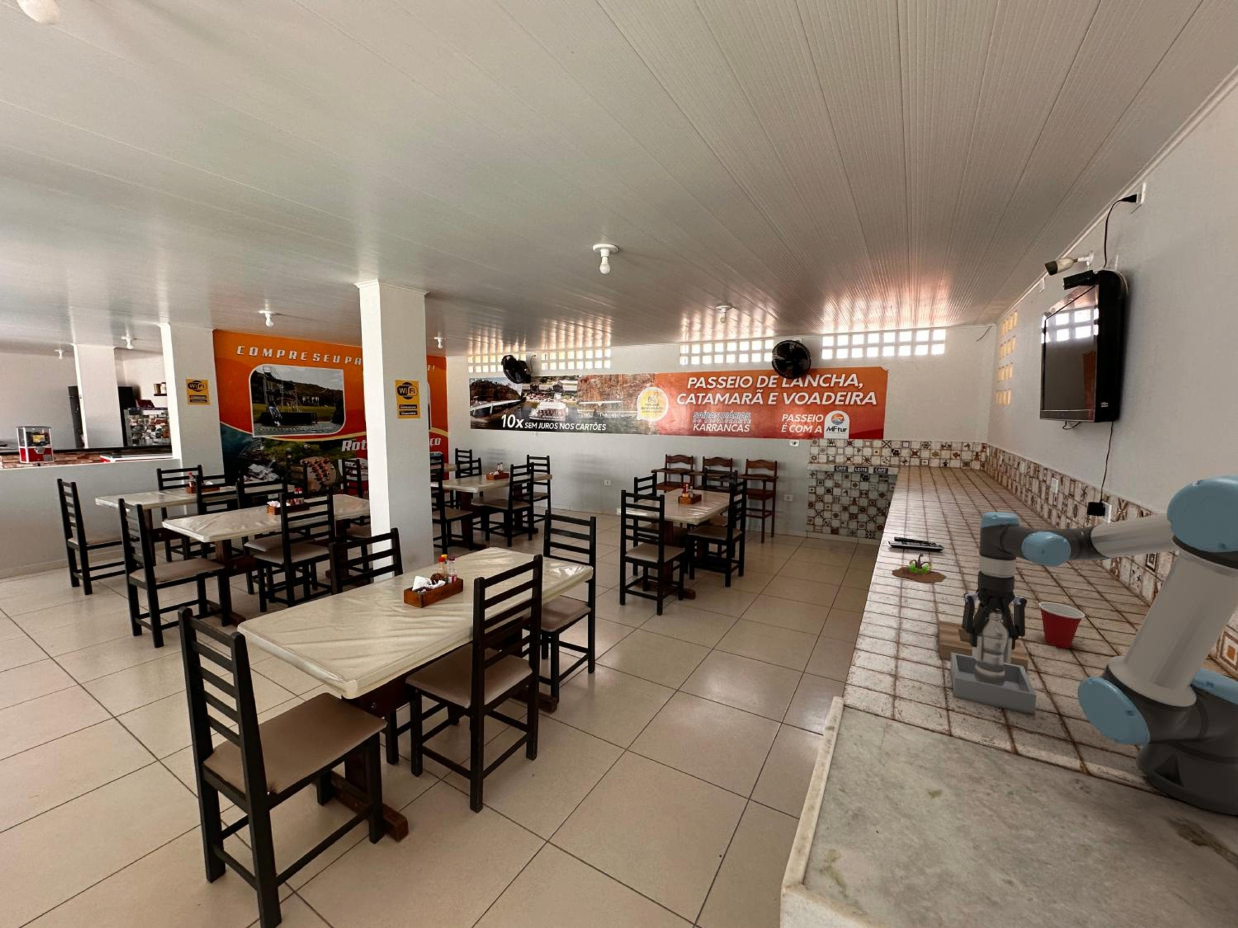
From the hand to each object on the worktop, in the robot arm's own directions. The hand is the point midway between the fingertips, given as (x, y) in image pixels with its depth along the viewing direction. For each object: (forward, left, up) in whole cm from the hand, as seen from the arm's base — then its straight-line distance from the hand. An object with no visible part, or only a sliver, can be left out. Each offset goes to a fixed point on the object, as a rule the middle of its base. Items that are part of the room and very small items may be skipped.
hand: (991, 659), depth 129 cm
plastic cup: (+42, -22, -9) cm, 48 cm away
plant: (+96, +15, -9) cm, 98 cm away
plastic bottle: (0, 0, -7) cm, 7 cm away
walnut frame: (+24, 0, -8) cm, 25 cm away
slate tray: (0, 0, -8) cm, 8 cm away
